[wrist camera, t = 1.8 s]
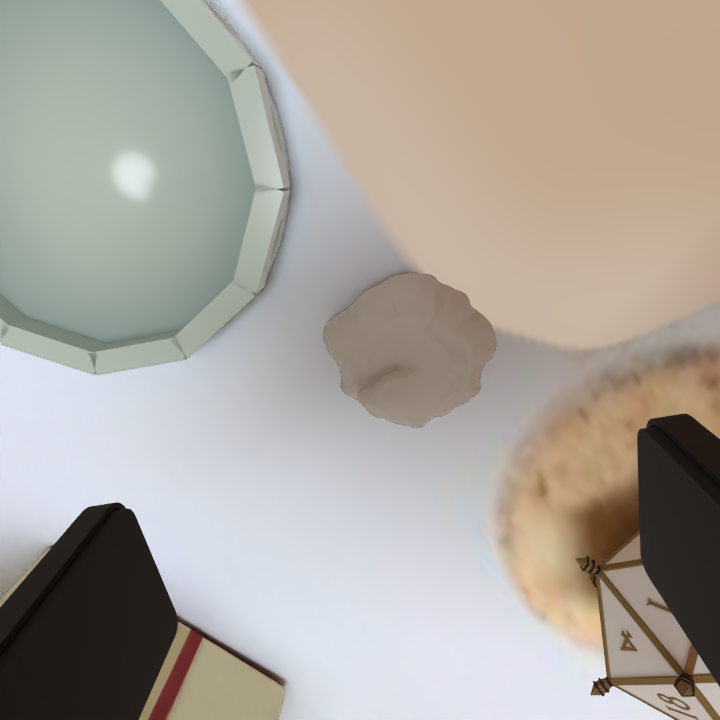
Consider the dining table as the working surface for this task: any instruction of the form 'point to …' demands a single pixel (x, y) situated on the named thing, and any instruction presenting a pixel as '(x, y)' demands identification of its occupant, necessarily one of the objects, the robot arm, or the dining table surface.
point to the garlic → (410, 349)
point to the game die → (647, 641)
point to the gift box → (204, 682)
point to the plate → (132, 180)
